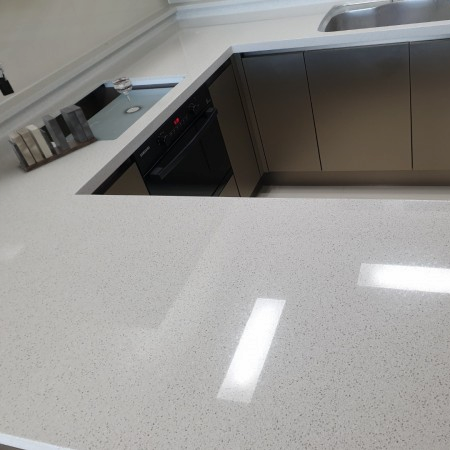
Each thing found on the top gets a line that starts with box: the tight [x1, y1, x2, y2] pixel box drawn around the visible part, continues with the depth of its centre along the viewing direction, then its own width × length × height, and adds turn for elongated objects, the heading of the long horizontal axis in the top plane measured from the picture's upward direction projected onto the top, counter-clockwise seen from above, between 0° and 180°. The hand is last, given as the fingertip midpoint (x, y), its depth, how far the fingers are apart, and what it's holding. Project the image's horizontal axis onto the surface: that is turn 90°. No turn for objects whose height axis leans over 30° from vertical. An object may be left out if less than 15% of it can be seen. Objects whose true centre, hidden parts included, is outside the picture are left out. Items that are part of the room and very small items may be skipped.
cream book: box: [25, 124, 53, 158], centre depth 152 cm, size 2×6×10 cm, turn 44°
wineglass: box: [112, 76, 140, 113], centre depth 178 cm, size 7×7×12 cm
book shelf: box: [7, 104, 98, 172], centre depth 154 cm, size 24×8×12 cm, turn 134°
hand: (4, 91), depth 144 cm, fingers open, 9 cm apart
